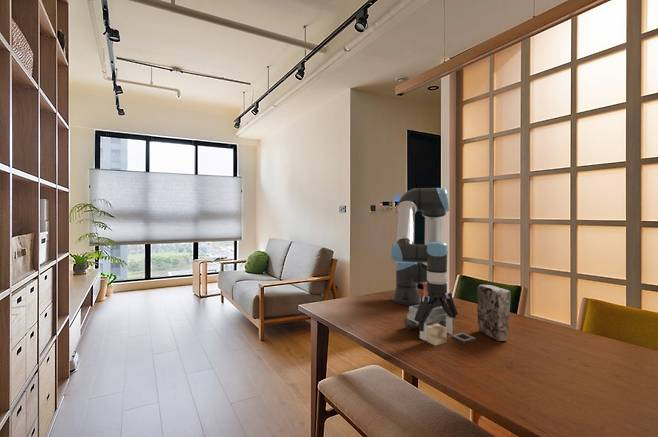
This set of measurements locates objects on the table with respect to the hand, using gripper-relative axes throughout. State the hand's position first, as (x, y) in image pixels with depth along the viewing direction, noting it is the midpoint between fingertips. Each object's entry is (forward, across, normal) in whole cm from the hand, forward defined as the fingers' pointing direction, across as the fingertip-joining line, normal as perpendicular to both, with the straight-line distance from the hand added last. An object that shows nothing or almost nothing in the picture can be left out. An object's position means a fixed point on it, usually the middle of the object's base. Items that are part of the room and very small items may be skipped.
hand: (436, 336), depth 132 cm
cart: (+2, -5, -10) cm, 12 cm away
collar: (+2, -12, +2) cm, 12 cm away
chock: (+2, 0, 0) cm, 2 cm away
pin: (-5, -5, -10) cm, 13 cm away
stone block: (+2, -25, +6) cm, 26 cm away
